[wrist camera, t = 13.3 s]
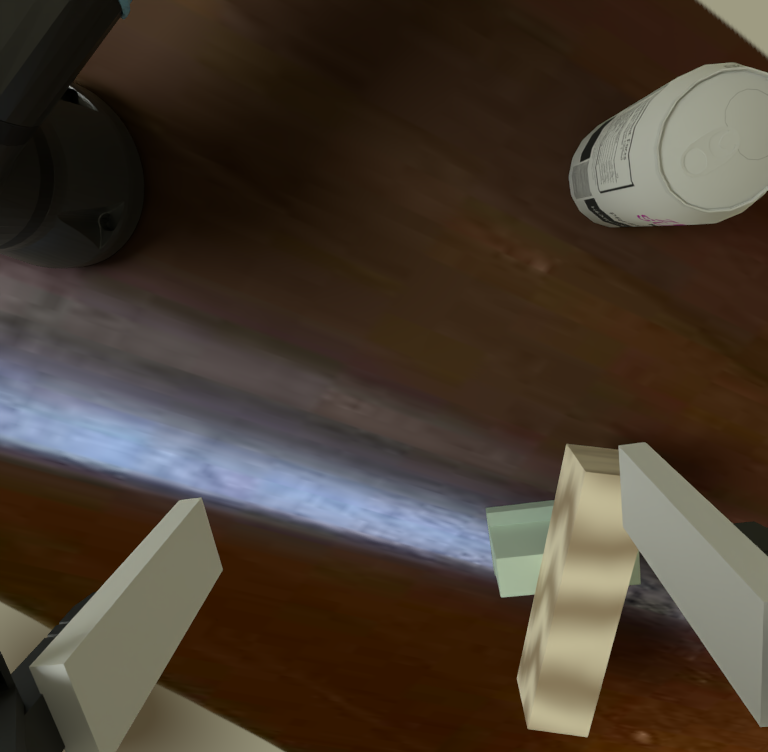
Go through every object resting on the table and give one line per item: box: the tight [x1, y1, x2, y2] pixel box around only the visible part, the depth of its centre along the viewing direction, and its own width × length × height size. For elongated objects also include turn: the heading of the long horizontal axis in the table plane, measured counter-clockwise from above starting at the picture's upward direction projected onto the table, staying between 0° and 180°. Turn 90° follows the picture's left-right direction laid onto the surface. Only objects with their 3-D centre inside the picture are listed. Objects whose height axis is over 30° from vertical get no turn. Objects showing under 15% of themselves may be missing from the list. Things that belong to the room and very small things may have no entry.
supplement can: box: [569, 62, 768, 227], centre depth 34 cm, size 8×8×15 cm
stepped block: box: [486, 500, 641, 597], centre depth 47 cm, size 12×7×6 cm, turn 100°
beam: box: [517, 444, 638, 737], centre depth 42 cm, size 24×5×5 cm, turn 175°
